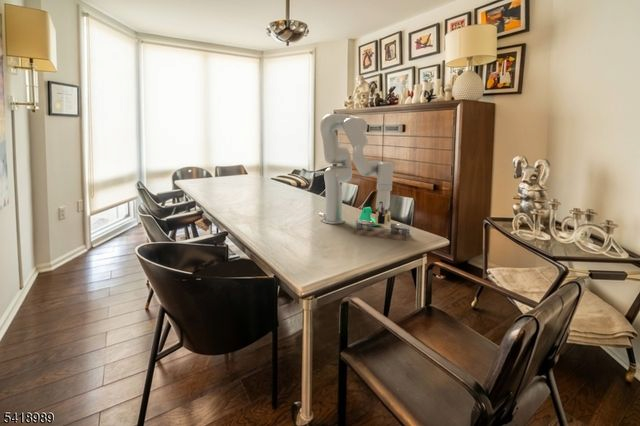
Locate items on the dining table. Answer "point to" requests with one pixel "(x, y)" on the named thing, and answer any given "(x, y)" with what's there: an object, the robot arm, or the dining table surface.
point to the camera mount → (367, 215)
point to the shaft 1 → (364, 224)
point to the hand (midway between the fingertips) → (382, 221)
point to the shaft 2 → (397, 227)
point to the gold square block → (386, 220)
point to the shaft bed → (381, 233)
